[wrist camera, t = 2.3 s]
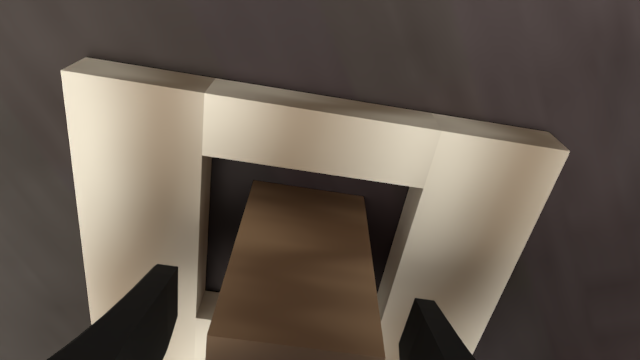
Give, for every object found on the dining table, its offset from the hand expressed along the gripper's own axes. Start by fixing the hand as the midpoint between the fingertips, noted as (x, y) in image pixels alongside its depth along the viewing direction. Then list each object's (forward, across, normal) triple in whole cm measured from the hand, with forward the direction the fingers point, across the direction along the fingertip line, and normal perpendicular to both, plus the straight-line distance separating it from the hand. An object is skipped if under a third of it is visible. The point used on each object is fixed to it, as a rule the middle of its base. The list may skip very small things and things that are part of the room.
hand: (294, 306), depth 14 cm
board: (+4, 0, +5) cm, 6 cm away
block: (+4, 0, 0) cm, 4 cm away
